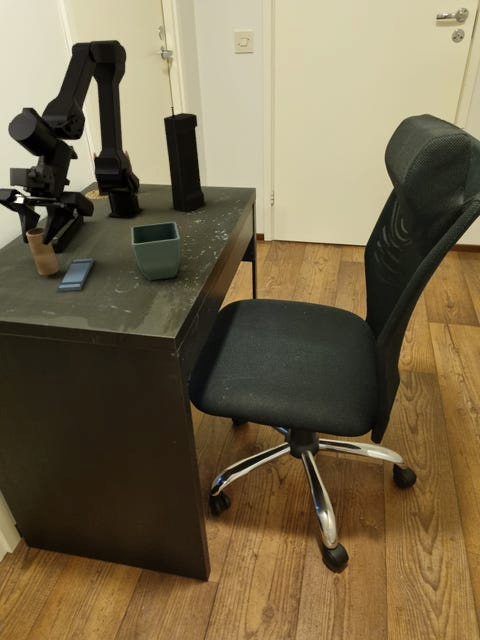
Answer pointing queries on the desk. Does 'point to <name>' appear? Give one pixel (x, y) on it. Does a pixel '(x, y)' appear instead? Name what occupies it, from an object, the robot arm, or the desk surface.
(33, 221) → the robot arm
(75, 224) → the black rectangular bar
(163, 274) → the flower pot
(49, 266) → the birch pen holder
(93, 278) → the desk surface
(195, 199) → the portable radio
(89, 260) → the light blue flat block
